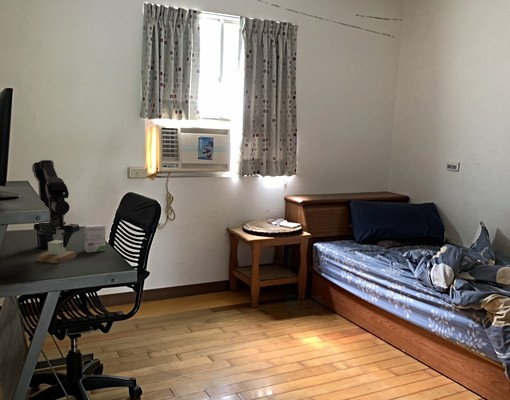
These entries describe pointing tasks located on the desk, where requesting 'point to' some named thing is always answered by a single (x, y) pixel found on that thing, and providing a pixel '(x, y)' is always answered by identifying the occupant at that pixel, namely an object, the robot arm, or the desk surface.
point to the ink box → (95, 238)
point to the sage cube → (56, 247)
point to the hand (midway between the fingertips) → (57, 246)
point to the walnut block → (56, 257)
